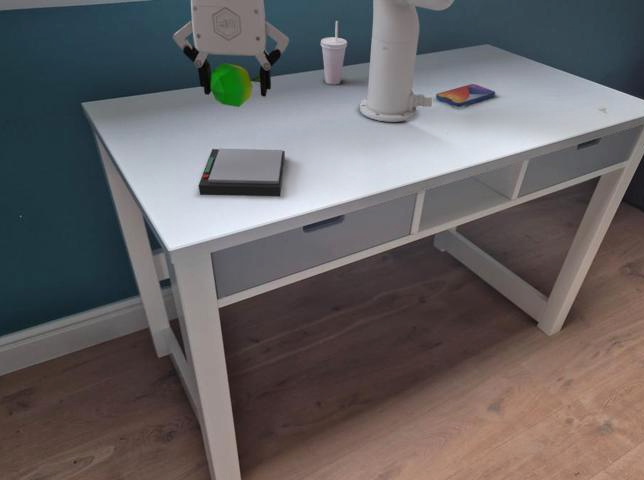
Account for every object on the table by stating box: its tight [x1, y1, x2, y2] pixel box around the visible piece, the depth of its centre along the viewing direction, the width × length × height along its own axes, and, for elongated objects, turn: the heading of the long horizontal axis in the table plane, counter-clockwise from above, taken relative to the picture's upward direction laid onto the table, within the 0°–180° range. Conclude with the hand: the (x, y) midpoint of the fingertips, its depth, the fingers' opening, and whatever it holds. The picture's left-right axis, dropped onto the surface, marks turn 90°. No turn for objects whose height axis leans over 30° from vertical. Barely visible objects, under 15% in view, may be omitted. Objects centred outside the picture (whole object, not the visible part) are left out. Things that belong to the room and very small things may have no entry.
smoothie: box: [319, 20, 348, 85], centre depth 120 cm, size 6×6×14 cm
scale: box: [198, 147, 286, 198], centre depth 86 cm, size 13×13×2 cm
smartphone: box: [435, 83, 496, 108], centre depth 120 cm, size 7×15×1 cm, turn 131°
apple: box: [210, 62, 260, 108], centre depth 77 cm, size 7×6×9 cm
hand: (236, 91), depth 78 cm, fingers closed on apple, 8 cm apart
